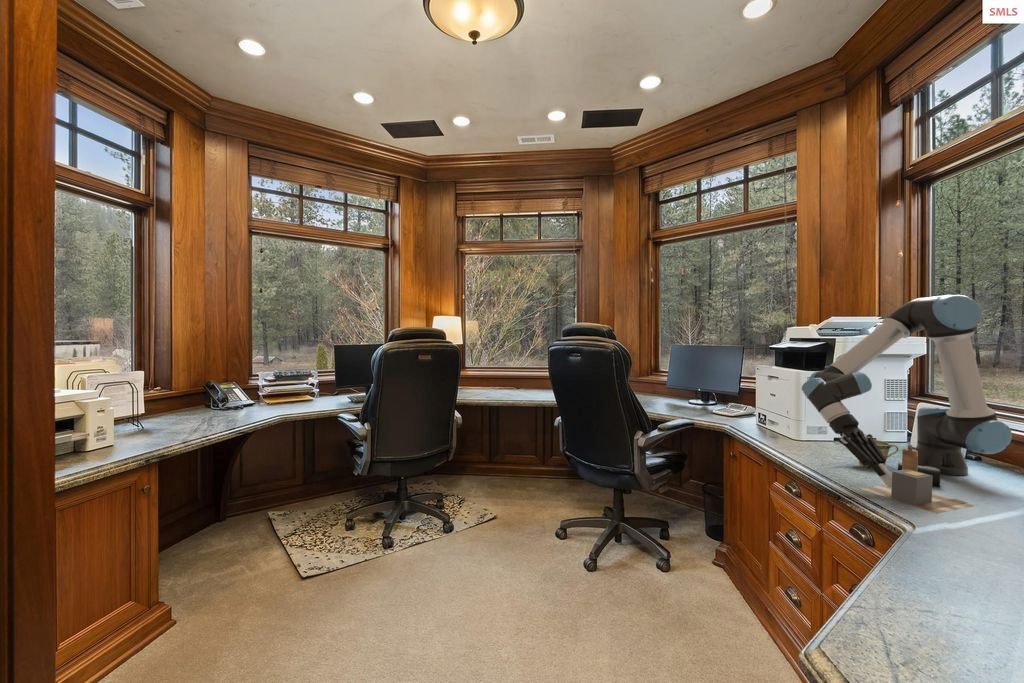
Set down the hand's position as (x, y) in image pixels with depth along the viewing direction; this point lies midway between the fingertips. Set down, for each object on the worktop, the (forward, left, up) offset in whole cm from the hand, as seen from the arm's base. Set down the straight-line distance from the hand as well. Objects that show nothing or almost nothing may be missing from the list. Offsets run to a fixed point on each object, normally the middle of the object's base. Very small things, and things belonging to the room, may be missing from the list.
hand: (893, 485), depth 128 cm
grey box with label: (0, +4, -3) cm, 5 cm away
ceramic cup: (-28, -22, -5) cm, 36 cm away
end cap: (-22, -6, -5) cm, 24 cm away
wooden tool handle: (-12, -3, -3) cm, 13 cm away
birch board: (-5, +3, -4) cm, 7 cm away
